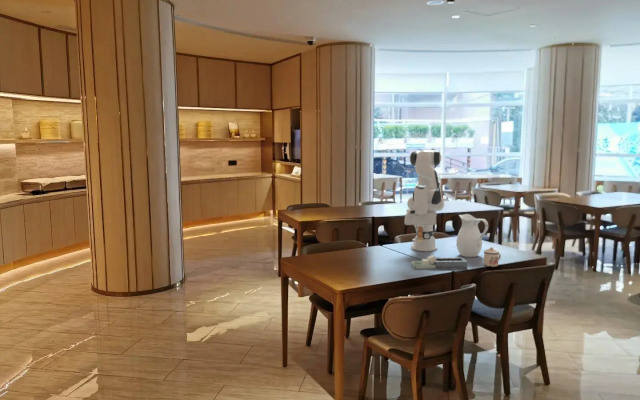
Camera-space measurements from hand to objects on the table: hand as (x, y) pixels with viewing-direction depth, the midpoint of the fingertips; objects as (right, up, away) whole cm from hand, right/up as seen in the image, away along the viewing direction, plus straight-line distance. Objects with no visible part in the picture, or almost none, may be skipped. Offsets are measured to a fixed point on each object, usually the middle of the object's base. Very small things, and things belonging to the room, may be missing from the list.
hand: (420, 231), depth 327 cm
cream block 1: (+4, -20, -7) cm, 21 cm away
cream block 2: (+7, -19, -8) cm, 22 cm away
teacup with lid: (+46, -22, -3) cm, 51 cm away
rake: (0, -6, +1) cm, 6 cm away
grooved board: (+17, -22, -7) cm, 29 cm away
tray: (+1, -22, -7) cm, 23 cm away
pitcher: (+40, -19, +19) cm, 47 cm away
